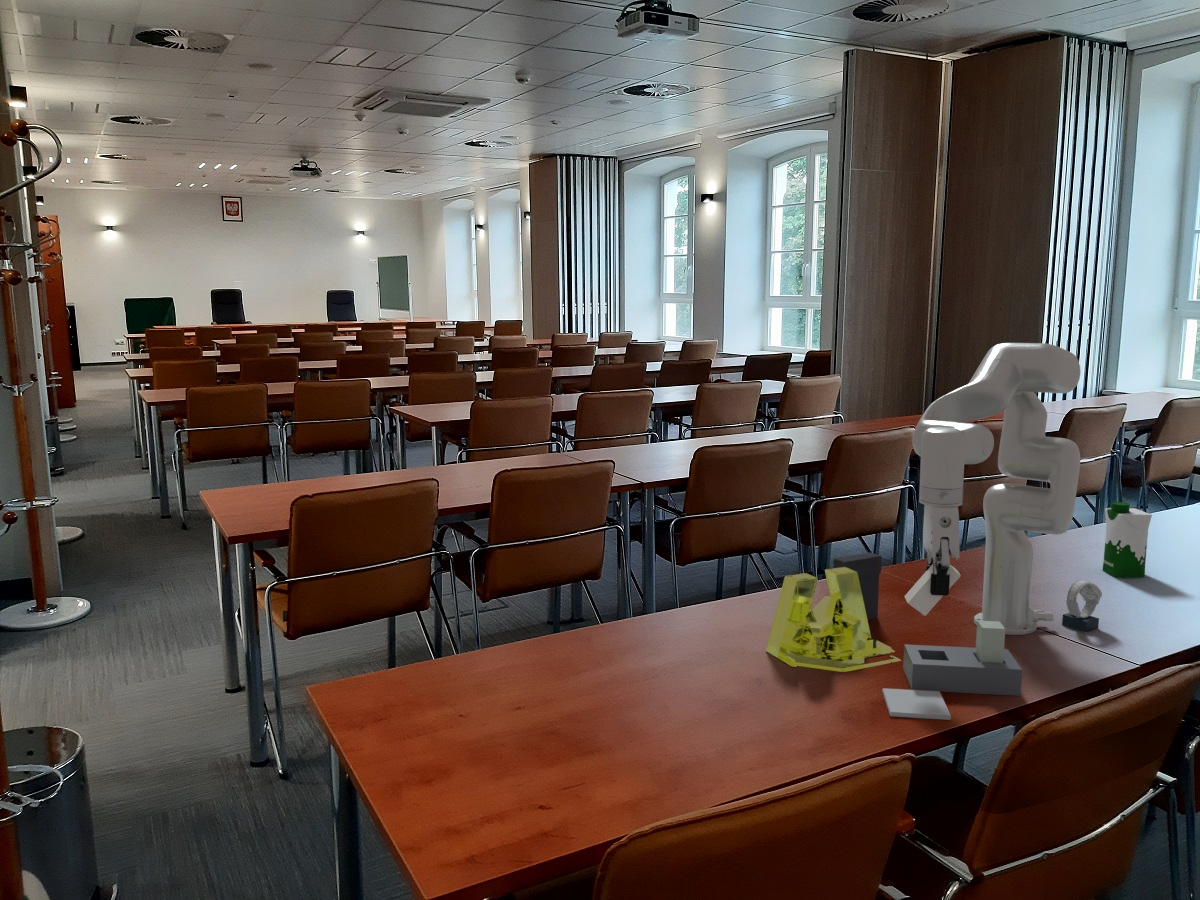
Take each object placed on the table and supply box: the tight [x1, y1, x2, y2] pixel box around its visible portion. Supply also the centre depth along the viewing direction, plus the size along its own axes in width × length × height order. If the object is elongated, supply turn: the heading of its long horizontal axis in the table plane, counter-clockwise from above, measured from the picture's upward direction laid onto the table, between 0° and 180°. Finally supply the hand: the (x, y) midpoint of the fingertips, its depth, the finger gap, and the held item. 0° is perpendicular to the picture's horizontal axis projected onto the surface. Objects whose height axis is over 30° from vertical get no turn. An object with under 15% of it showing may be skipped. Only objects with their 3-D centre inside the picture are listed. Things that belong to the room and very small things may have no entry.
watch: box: [1061, 579, 1103, 633], centre depth 198 cm, size 6×8×11 cm
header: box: [902, 644, 1023, 697], centre depth 172 cm, size 19×10×5 cm, turn 80°
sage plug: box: [975, 621, 1006, 663], centre depth 171 cm, size 4×4×10 cm
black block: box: [832, 551, 883, 621], centre depth 205 cm, size 11×4×15 cm, turn 116°
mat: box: [882, 688, 952, 721], centre depth 162 cm, size 10×10×1 cm
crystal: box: [765, 567, 903, 673], centre depth 186 cm, size 18×25×16 cm
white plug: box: [903, 561, 961, 617], centre depth 171 cm, size 4×4×10 cm
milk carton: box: [1102, 501, 1153, 579], centre depth 233 cm, size 9×9×20 cm
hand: (937, 589), depth 171 cm, fingers closed on white plug, 4 cm apart
